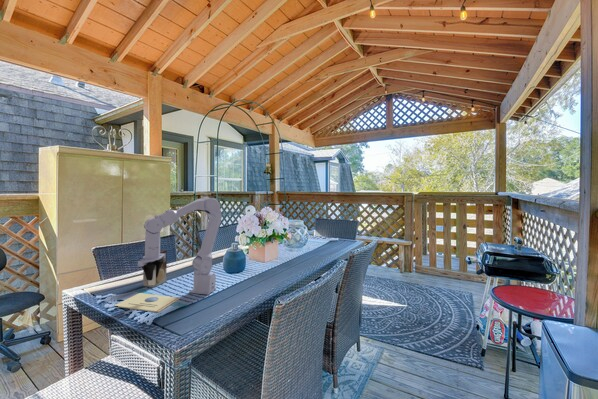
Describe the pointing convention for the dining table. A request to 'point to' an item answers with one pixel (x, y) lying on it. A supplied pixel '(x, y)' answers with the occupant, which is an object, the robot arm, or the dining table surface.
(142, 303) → the writing pad
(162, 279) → the coffee box
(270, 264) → the dining table surface
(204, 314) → the dining table surface
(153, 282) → the marker
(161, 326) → the dining table surface
